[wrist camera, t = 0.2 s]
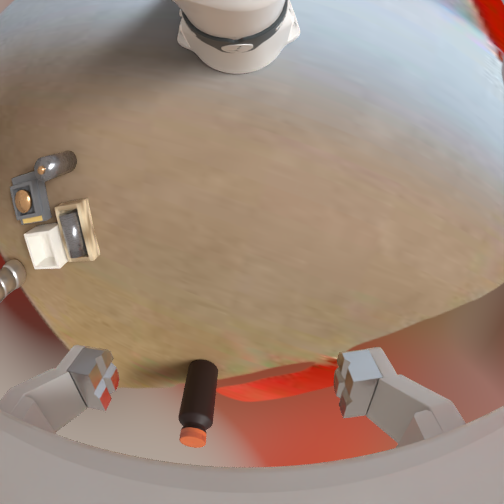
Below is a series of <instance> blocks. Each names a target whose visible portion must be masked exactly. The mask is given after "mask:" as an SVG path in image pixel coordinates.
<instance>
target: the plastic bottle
mask: <svg viewBox="0 0 504 504" xmlns="http://www.w3.org/2000/svg"><path fill="white" fill-rule="evenodd" d="M25 279H26V271H25V268H24V266H23V265H22V264H21V262H19V261H18V260H15V259H12V260H10V261H7V262H6V263H5V265H4V266H3V267H2V269H0V302H1V301H2V300H3V299H4V298H5V297H6V296H7V295H8V294H9V293H10V292H12V291H13V290H15V289H17V288H19V287H20V286H22V284H23V283H24V281H25Z"/></svg>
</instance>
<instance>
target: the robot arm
mask: <svg viewBox="0 0 504 504" xmlns="http://www.w3.org/2000/svg"><path fill="white" fill-rule="evenodd" d="M172 1H174V2H175V3H176V4H177V5H178V6H179V7H180V8H181V9H180V12H179V15H180V17H182V18H181V23H180V26H179V32H178V37H177V41H178V43H179V44H180V45H181V46H182V47H184V48H187V49H189V50H192V51H193V52H195V53H196V54H197V55H198V57H199V58H200V59H201V60H202V61H203V62H204V63H206V64H207V65H208V66H210V67H212V68H214V69H216V70H218V71H221V72H225V73H232V74H242V73H249V72H253V71H256V70H259V69H261V68H263V67H265V66H267V65H268V64H270V63H271V62H272V61H273V60H274V59H275V58H276V57H277V56H278V55H279V54H280V52H281V51H282V49H283V48H284V47H285V46H286V45H287V44H289V43H291V42H292V41H294V40H296V39H297V38H298V37H299V36H300V28H299V25H298V22H297V19H296V16H295V14H294V11H293V8H292V5H291V2H290V0H172ZM112 360H113V356H112V354H111V351H109V350H107V349H100V348H94V347H88V346H81V345H75V346H73V347H72V348H71V350H70V351H69V352H68V353H67V355H66V356H65V357H64V358H63V360H62V361H61V362H60V364H59V365H58V366H57V368H56V369H54V368H52V369H50V370H48V371H46V372H44V373H42V374H39V375H38V376H35V377H33V378H31V379H29V380H27V381H25V382H23V383H20V384H18V385H16V386H14V387H12V388H10V389H9V390H8V391H7V392H6V394H5V395H4V396H3V398H2V399H1V400H0V504H504V406H503V407H501V408H499V409H497V410H495V411H493V412H491V413H489V414H487V415H485V416H483V417H480V418H478V419H476V420H474V421H472V422H469V423H467V424H466V423H465V422H464V420H463V418H462V417H461V415H460V414H459V412H458V410H457V409H456V407H455V406H454V404H453V403H452V401H450V400H448V399H447V398H444V397H443V396H441V395H439V394H437V393H435V392H433V391H431V390H429V389H427V388H425V387H423V386H422V385H420V384H418V383H416V382H414V381H412V380H410V379H408V378H406V377H405V376H403V375H397V374H396V372H395V370H394V368H393V367H392V365H391V363H390V362H389V360H388V359H387V357H386V355H385V353H384V352H383V350H382V349H381V348H380V347H376V348H369V349H364V350H356V351H347V352H339V355H338V358H337V363H338V366H339V367H338V368H337V369H336V370H335V374H334V389H335V393H336V396H338V397H339V398H340V403H339V406H340V410H341V413H342V416H343V418H350V417H357V416H364V415H366V416H367V417H368V418H369V419H370V420H371V421H373V422H374V423H375V424H376V425H377V426H378V427H380V428H381V429H382V430H383V431H384V432H386V433H387V434H388V435H389V436H390V437H391V438H393V439H394V440H395V441H396V442H397V443H398V445H397V447H396V448H395V449H391V450H387V451H383V452H378V453H375V454H370V455H365V456H360V457H355V458H350V459H343V460H337V461H331V462H323V463H316V464H308V465H296V466H281V467H255V468H253V467H252V468H251V467H249V468H245V467H244V468H243V467H242V468H241V467H238V468H237V467H236V468H235V467H213V466H199V465H189V464H180V463H171V462H165V461H158V460H152V459H146V458H141V457H136V456H130V455H126V454H122V453H117V452H113V451H109V450H105V449H101V448H98V447H94V446H90V445H87V444H84V443H81V442H77V441H74V440H71V439H68V438H65V437H63V436H60V435H57V434H56V432H57V431H58V430H59V429H61V428H62V427H64V426H65V425H66V424H68V423H69V422H70V421H71V420H73V419H74V418H75V417H77V416H78V415H79V414H81V413H82V412H83V411H84V410H86V409H87V407H88V408H93V409H98V410H103V411H106V410H107V407H108V405H109V403H110V401H111V399H112V398H111V395H110V394H111V393H113V392H115V391H116V389H117V387H118V384H119V373H118V370H117V368H116V367H115V366H114V365H113V364H112Z"/></svg>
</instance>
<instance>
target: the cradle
mask: <svg viewBox="0 0 504 504" xmlns="http://www.w3.org/2000/svg"><path fill="white" fill-rule="evenodd" d="M12 183H13V186H11V187H10V191H11V196H12V201H13V205H14V210H15V214H16V218H17V220H21V224H22V225H23V224H29V223H35V222H41V221H47V220H48V219H50V218H51V217H52V216H51V212H50V207H49V203H48V198H47V193H46V187H45V182H41V181H39V180H38V179H37V178H36V176H35V172H34V171H33V172H29V173H26V174H23V175H20V176H17V177H14V178H12ZM22 189H25V190H27V191H28V192H29V193H30V195H31V198H32V207H31V209H30V210H29V211H28V212H26V213H21V212H20V211H19V210H18V209H17V207H16V204H15V196H16V193H17V192H18V191H19V190H22Z"/></svg>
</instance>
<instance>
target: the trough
mask: <svg viewBox="0 0 504 504" xmlns="http://www.w3.org/2000/svg"><path fill="white" fill-rule="evenodd" d="M54 208H55V212H56V217H57V221H58V225H59V229H60V233H61V237H62V240H63V244H64V248H65V251H66V255H67V258H68V261H69V262H78V261H94V260H95V259H96V258H97V257H98V256H99V255H100V251H99V247H98V243H97V239H96V235H95V230H94V226H93V222H92V217H91V212H90V207H89V202H88V198H87V199H81V200H75V201H70V202H64V203H61V204H60V205H58V206H56V207H54ZM74 209H77V210H78V215H79V220H80V224H81V228H82V232H83V236H84V240H85V244H86V248H87V252H88V253H87V254H85V255H84V256H83V257H81V258H70V256H69V253H68V249H67V245H66V242H65V238H64V234H63V230H62V226H61V222H60V218H59V215H60V214H62V213H64V212H67V211H70V210H74Z"/></svg>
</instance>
